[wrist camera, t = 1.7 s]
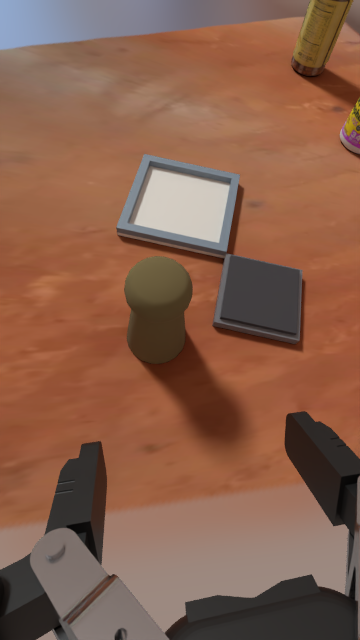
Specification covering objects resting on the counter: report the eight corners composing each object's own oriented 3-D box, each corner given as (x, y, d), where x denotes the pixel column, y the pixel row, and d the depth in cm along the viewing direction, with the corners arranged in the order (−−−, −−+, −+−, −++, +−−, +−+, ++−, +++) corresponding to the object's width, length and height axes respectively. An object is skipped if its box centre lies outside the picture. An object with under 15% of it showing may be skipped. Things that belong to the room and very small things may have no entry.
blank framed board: (117, 234, 38) (116, 227, 37) (144, 162, 44) (144, 154, 42) (224, 258, 38) (226, 251, 37) (237, 182, 43) (239, 174, 42)
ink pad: (212, 325, 34) (215, 319, 32) (224, 258, 38) (226, 250, 36) (295, 344, 34) (301, 338, 32) (298, 274, 38) (304, 267, 36)
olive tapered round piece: (197, 338, 33) (218, 281, 23) (153, 376, 31) (155, 331, 21) (158, 299, 35) (162, 230, 25) (114, 333, 33) (99, 272, 23)
